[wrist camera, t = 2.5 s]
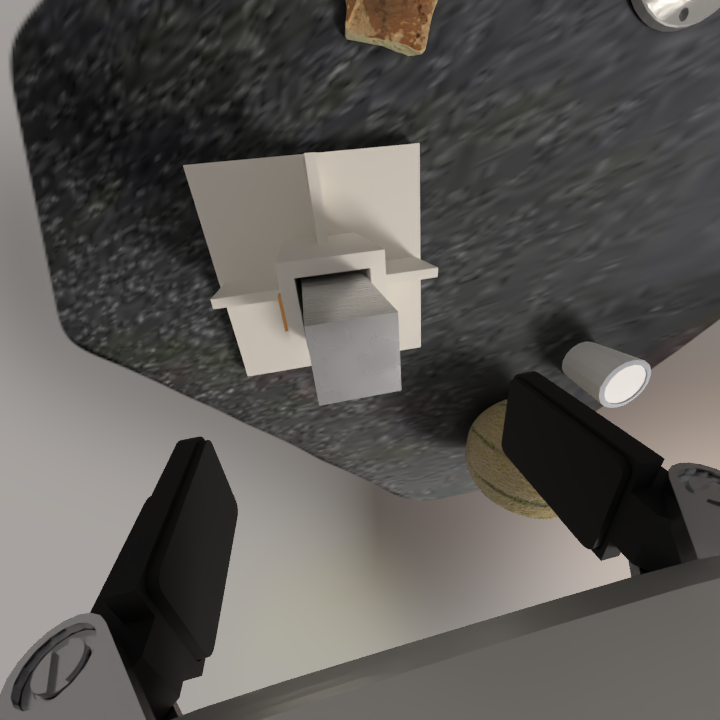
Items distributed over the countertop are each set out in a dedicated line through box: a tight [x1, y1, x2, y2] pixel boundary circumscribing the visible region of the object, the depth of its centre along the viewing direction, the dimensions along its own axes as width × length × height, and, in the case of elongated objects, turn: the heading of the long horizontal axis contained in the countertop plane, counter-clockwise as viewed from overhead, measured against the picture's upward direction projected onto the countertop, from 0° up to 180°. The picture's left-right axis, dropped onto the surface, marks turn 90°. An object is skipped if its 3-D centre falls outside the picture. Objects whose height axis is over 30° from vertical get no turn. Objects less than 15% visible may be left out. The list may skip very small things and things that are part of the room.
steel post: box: [301, 269, 401, 406], centre depth 22 cm, size 4×4×18 cm
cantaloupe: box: [465, 400, 558, 519], centre depth 40 cm, size 15×15×15 cm
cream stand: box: [183, 143, 438, 376], centre depth 27 cm, size 20×20×14 cm
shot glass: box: [562, 341, 651, 408], centre depth 41 cm, size 7×7×7 cm
